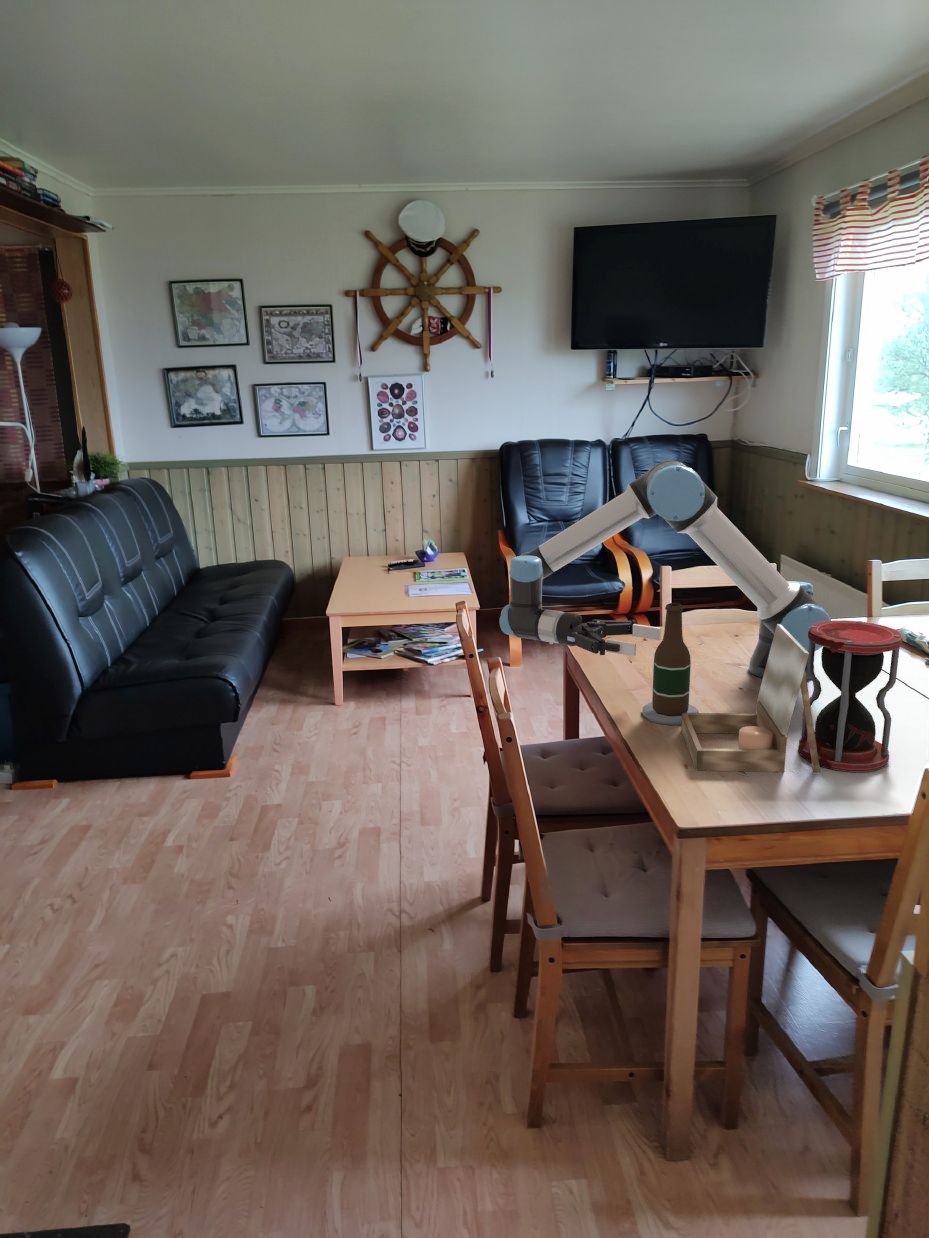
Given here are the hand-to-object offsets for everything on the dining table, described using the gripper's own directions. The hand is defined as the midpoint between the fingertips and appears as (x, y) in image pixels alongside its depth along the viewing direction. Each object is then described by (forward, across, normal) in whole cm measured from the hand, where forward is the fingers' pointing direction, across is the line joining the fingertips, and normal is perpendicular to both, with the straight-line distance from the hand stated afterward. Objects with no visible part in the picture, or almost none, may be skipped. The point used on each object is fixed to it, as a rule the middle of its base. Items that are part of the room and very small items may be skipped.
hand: (648, 641), depth 186 cm
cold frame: (+25, +10, -16) cm, 32 cm away
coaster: (+6, 0, -16) cm, 17 cm away
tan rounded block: (+28, +14, -16) cm, 35 cm away
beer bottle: (+6, 0, -15) cm, 16 cm away
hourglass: (+42, +2, -16) cm, 45 cm away
